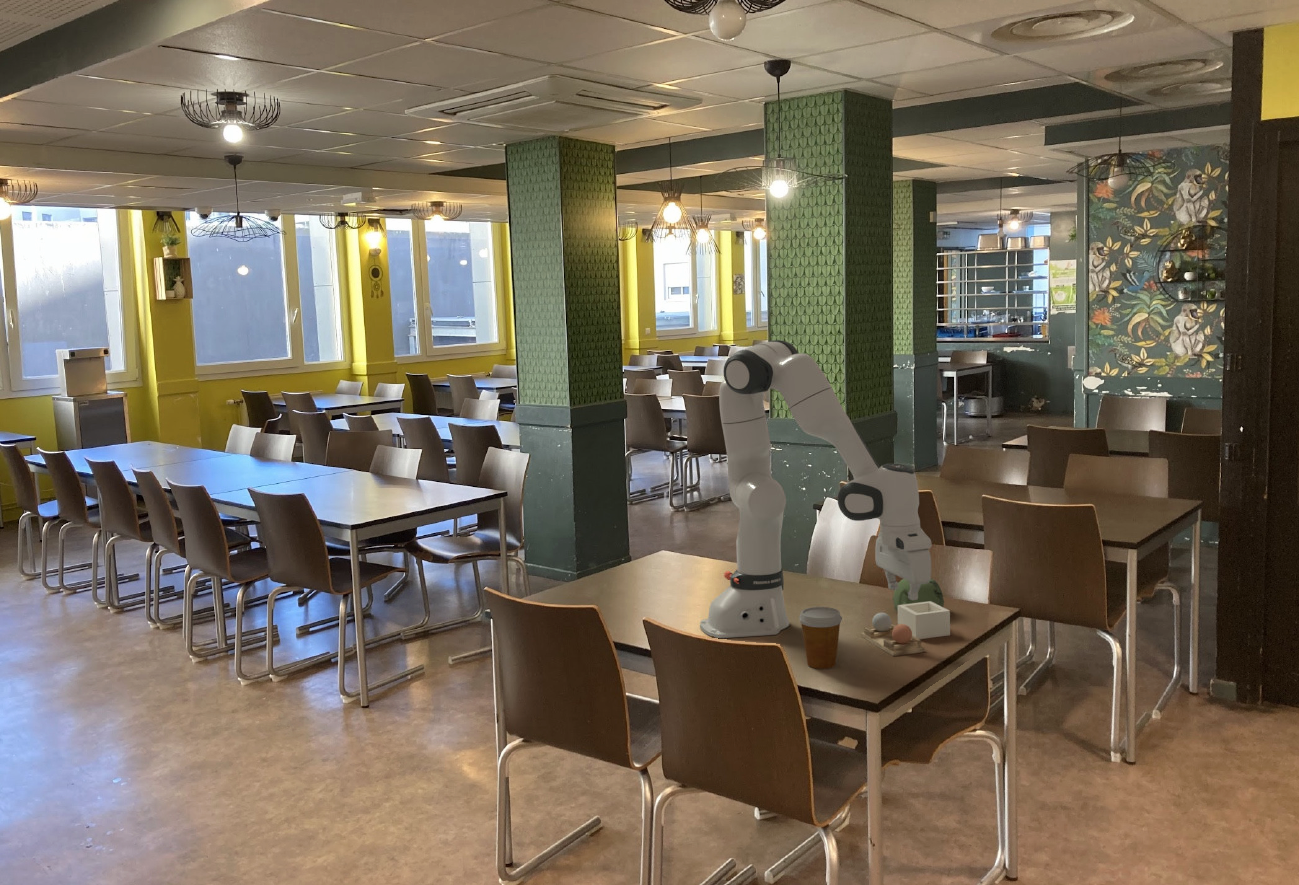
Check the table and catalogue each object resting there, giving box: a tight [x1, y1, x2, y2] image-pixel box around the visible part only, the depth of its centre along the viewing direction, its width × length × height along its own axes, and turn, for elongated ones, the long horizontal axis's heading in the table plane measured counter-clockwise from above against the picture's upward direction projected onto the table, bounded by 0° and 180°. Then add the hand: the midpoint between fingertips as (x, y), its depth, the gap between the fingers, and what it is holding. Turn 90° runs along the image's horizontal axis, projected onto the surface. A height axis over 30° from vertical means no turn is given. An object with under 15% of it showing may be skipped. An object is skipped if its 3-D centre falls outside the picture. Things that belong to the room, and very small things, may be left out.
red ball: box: [892, 624, 912, 644], centre depth 244 cm, size 4×4×4 cm
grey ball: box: [871, 612, 893, 632], centre depth 254 cm, size 4×4×4 cm
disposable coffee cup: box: [798, 606, 843, 670], centre depth 237 cm, size 10×10×12 cm
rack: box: [860, 623, 926, 657], centre depth 249 cm, size 8×16×2 cm, turn 15°
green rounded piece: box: [892, 578, 945, 612], centre depth 272 cm, size 16×13×9 cm
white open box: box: [897, 601, 951, 640], centre depth 257 cm, size 9×9×6 cm
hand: (902, 594), depth 243 cm, fingers open, 8 cm apart
